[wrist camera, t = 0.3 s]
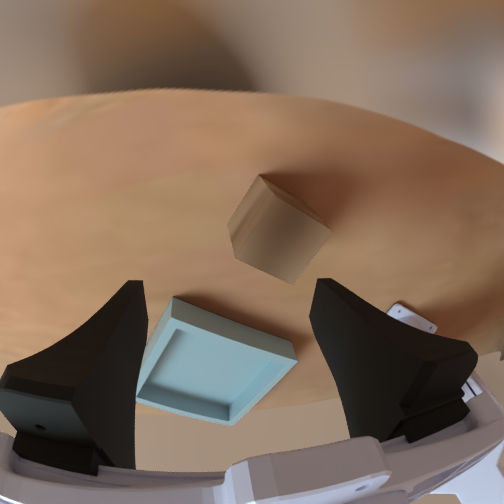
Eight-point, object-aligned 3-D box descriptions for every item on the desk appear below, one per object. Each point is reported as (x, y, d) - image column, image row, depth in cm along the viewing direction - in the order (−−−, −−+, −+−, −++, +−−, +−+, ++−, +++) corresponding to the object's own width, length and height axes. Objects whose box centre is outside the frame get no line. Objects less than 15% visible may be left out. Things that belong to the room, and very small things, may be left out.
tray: (291, 341, 27) (298, 360, 25) (229, 408, 31) (231, 426, 29) (172, 296, 23) (170, 317, 21) (128, 378, 27) (126, 398, 24)
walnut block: (305, 202, 21) (332, 231, 17) (274, 247, 22) (293, 285, 18) (258, 174, 20) (275, 196, 15) (227, 223, 21) (235, 258, 17)
